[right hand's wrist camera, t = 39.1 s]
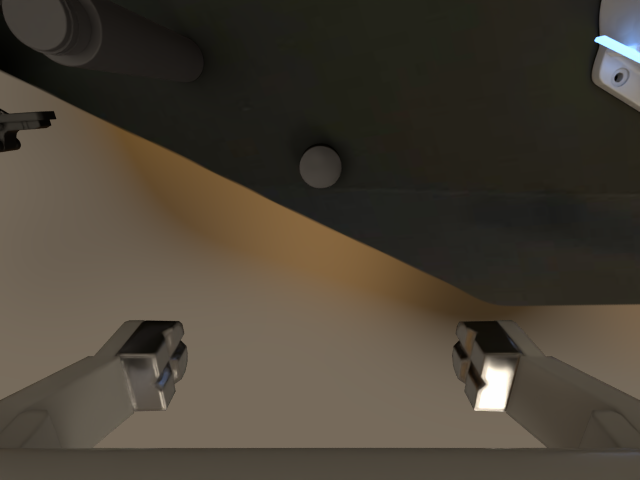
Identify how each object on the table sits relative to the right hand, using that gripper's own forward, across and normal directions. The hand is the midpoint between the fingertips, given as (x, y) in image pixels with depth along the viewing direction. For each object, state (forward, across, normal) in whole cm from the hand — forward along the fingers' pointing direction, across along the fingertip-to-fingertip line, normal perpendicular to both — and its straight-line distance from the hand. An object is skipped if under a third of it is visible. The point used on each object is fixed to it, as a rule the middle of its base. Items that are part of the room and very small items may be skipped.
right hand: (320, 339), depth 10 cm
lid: (+29, 0, 0) cm, 29 cm away
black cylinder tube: (+31, +14, -10) cm, 35 cm away
